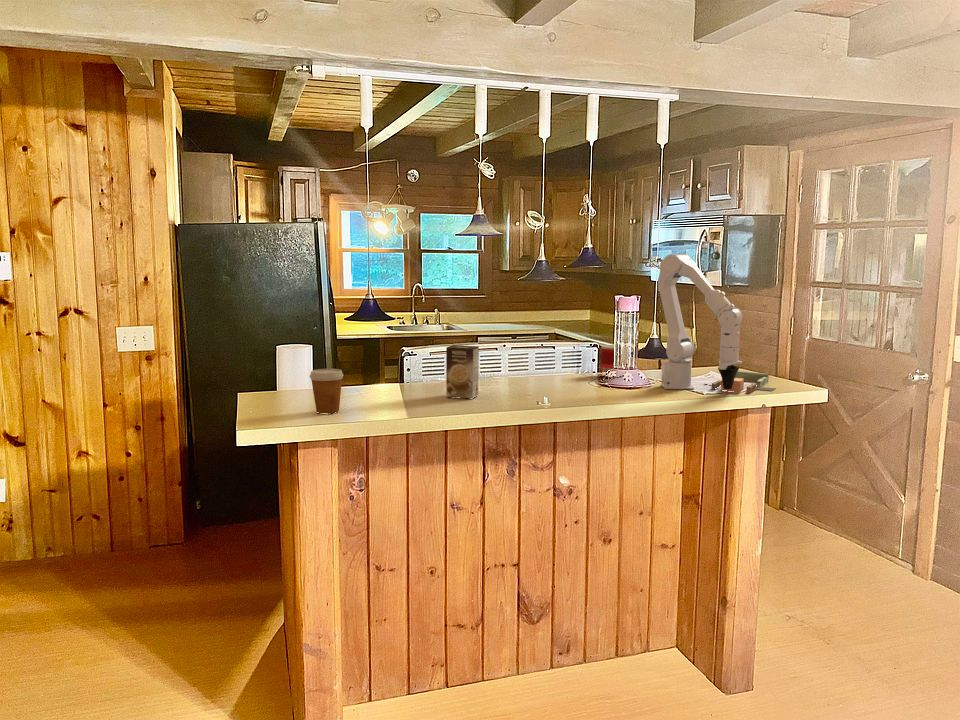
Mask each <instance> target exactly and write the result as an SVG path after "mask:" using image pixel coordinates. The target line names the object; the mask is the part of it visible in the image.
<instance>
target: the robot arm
mask: <svg viewBox="0 0 960 720" xmlns="http://www.w3.org/2000/svg"><path fill="white" fill-rule="evenodd" d="M659 265H660V266H659V267H660V270H659V274H658V277H657V278H658V279H657V285H658V290H659V295H660V299H661V305H662V308H663V309H662V310H663V312H664V314H663V315H664V318H665V322H666V327H667V331H668V336H667V338H666V350H665V352H666V356H667V358H668V360H667V361H666V360H665V361H662V364H661V377H660V378H661V382H660V386H661V387H662V388H663V389H664V390H694V389H695V388H694V387H693V385H691V384H692V364H693V363H692V362H693V361H692V357H693V356H694V355H695V352H696V346H695V344H694V342H693V341H692V340H691V335H690V334H689V333H688V332H687V331H686V328H685V324H684V319H683V315H682V310H681V305H680V301H679V300H680V299H679V296H678V292H677V288H676V284H677V283H678V281H679V280H680V279H681V277H684V278H688V279H689V280H690V281H691V282H692V283H693V284H694V286H696V287H697V288H698V290H699V291H700V292H701V293H702V294H703V295H704V302H705V303H706V305H707V306H708V307H709V308H710V309H711V311H712V312H713V313H714V315H716V316H717V321H718V322H717V323H718V324H719V325H720V341H719V343H720V345H719V360H718V367H717V369H718V370H717V371H718V372H719V374H720V377H721V380H722V381H723V387H724V389H732V386H733V382H734V378H735V376H736V373H737V371H740V370H739V369H740V366H737V365H742V364H743V361H742V360H740V359H739V358H740V357H739V356H740V355H739V354H740V338H741V337H740V335H741V324H742V322H743V320H744V314H743V313H742V311H741V309H739V308H737V307H735V305H734V304H733V303H731V302H730V300H729V299H728V298H727V297H726V292H724V291H721V290H720V289H715V288H713V286H712V284H711V283H710V282H709V280H708V279H707V278H706V277H705V275H704V274H703V272H701V270H700V269H699V267H698V266H697V264H696V262H695V261H694V260H692V258H691V257H690V256H689V255H688V254H685V253H681V254H674V253H672V254H668V255H666V256H665V257H664V258H663V260H661V262H660V263H659Z"/></svg>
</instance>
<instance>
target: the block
mask: <svg viewBox="0 0 960 720" xmlns="http://www.w3.org/2000/svg"><path fill="white" fill-rule="evenodd" d="M720 381H721V387H720V391H721V390H727V391H734V392H738V393H737V394H741V393H742V392H743V391H744V388H745V387H744V384H745V381H744V378H734V382H733V386H732V389H724V387H723V381H722V379H721V380H720ZM742 390H743V391H742ZM741 391H742V392H741Z"/></svg>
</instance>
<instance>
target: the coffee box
mask: <svg viewBox="0 0 960 720" xmlns="http://www.w3.org/2000/svg"><path fill="white" fill-rule="evenodd" d="M445 351H446V354H445V355H446V358H445V359H446V363H445V364H446V366H445V367H446V369H445V370H446V373H445V374H446V376H445V377H446V380H445V381H446V383H445V384H446V385H445V387H446V391H445V392H446V394H445V397H446V396H447V397H460V398H474V397H475V396H477V395H478V396H479V372H480V371H479V361H480V360H479V359H480V358H479V356H480V353H479V351H480V347H479V346H477V345H476V346H475V345H462V344H461V345H460V344H452V345H449V346H447V347H446V350H445ZM474 399H475V398H474Z"/></svg>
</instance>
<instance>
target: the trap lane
mask: <svg viewBox="0 0 960 720" xmlns="http://www.w3.org/2000/svg"><path fill="white" fill-rule="evenodd" d="M769 376H770V375H769V373H764V372H752V371H741V370H738V371H737V373H736V376H735V378H744V382H752V381H757V382H755V383H751V384H749V385H748V386H746V394H752V393H753V392H755V391H757V390H756V389H757V388H759V387H764V386H765V385H766V384H768V383H769ZM720 385H721V380H716V381H715V382H713V383H712V386H711V387H710V388H711V389H715V388H717V387H719V386H720ZM756 385H757V386H758V387H756Z"/></svg>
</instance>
